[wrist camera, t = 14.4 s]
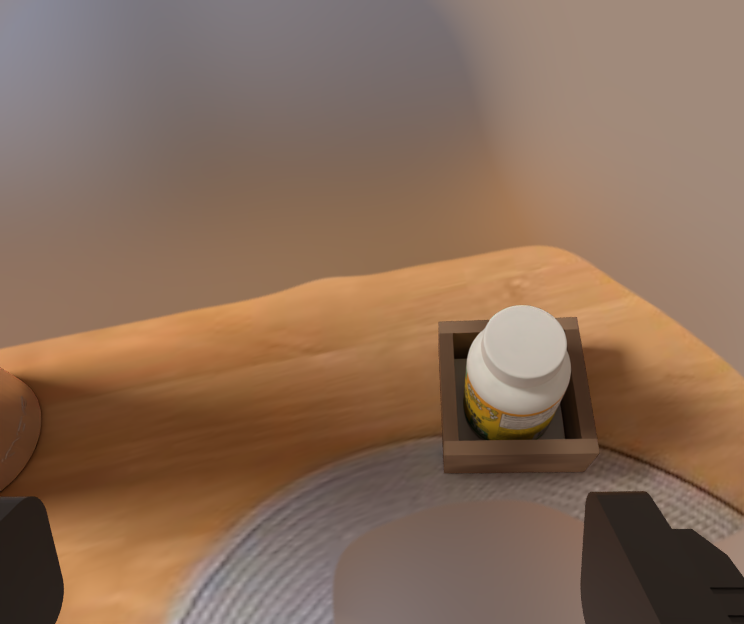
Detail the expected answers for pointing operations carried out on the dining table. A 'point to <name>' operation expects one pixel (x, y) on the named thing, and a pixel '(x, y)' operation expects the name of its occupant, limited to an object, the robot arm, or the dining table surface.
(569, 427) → the holder
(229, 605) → the dining table surface
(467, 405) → the supplement bottle
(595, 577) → the robot arm
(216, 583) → the dining table surface
